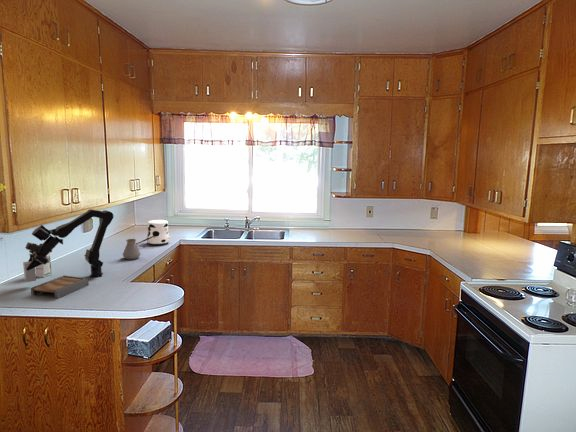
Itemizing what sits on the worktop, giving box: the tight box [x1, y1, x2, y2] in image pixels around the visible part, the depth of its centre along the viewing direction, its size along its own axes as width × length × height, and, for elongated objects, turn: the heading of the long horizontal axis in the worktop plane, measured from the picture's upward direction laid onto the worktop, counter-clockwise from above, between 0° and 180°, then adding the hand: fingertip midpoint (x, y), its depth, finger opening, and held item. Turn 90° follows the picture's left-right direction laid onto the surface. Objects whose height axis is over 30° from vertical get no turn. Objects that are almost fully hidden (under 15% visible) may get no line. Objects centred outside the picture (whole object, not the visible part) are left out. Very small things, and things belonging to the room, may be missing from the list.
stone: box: [22, 260, 37, 283], centre depth 214 cm, size 4×4×10 cm
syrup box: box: [35, 252, 52, 278], centre depth 234 cm, size 6×6×14 cm
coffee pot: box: [122, 236, 155, 260], centre depth 276 cm, size 21×12×15 cm, turn 108°
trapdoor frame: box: [30, 275, 90, 300], centre depth 211 cm, size 22×16×4 cm
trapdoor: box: [34, 277, 82, 294], centre depth 210 cm, size 19×12×4 cm, turn 166°
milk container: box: [146, 219, 171, 246], centre depth 318 cm, size 17×17×18 cm
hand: (26, 268), depth 213 cm, fingers closed on stone, 4 cm apart
